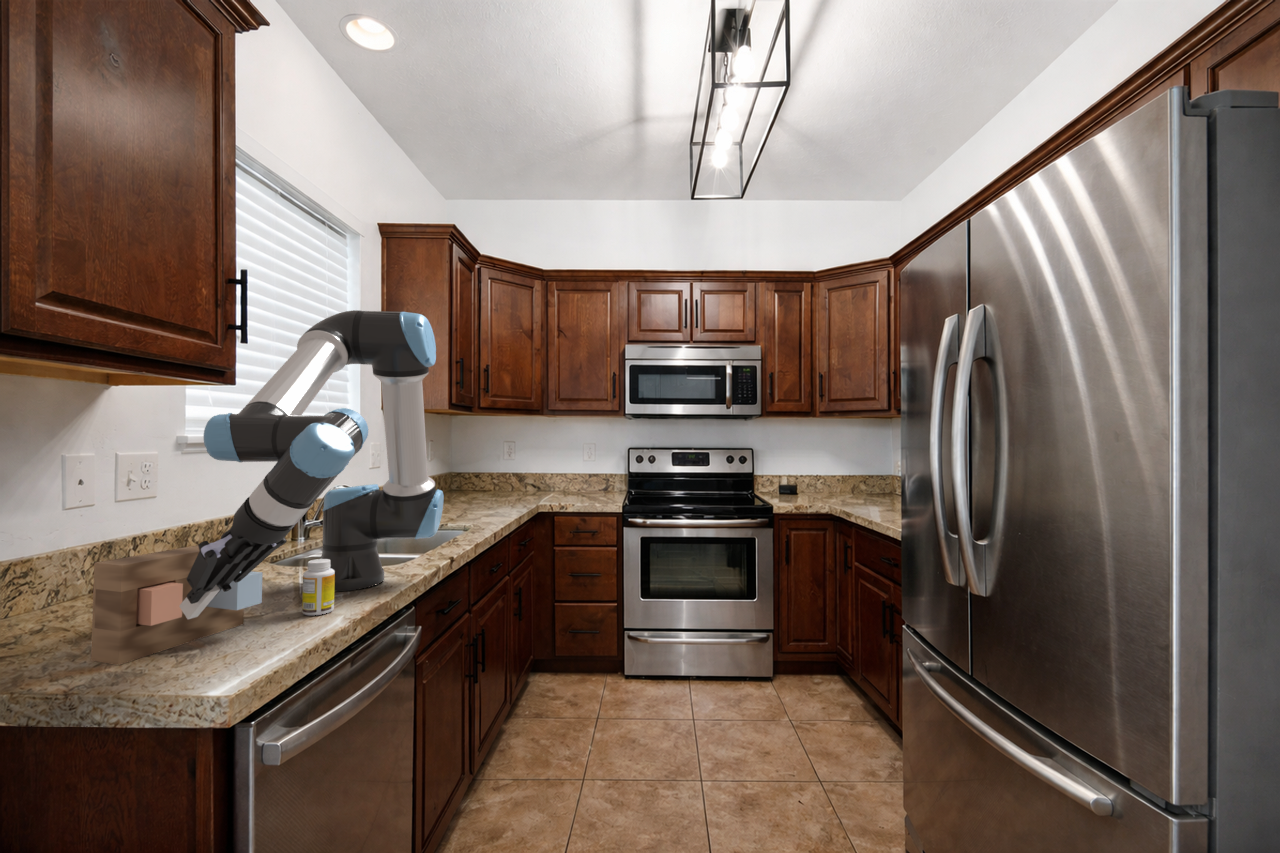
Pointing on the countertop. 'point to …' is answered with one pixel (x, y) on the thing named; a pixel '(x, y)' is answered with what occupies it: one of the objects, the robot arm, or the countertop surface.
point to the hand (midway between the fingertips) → (188, 611)
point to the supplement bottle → (318, 588)
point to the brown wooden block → (118, 607)
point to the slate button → (240, 593)
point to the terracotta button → (159, 603)
